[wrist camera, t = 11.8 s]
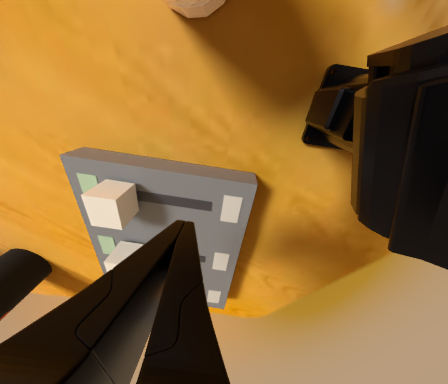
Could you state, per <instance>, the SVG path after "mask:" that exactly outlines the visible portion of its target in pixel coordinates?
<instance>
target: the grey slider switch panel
mask: <svg viewBox="0 0 448 384" xmlns="http://www.w3.org/2000/svg"><path fill="white" fill-rule="evenodd" d="M60 157H61V160H62V163H63V166H64V168H65V171H66V174H67V176H68V179H69V182H70V184H71V187H72V190H73V193H74V195H75V198H76V201H77V203H78V206H79V209H80V211H81V214H82V217H83V219H84V222H85V225H86V228H87V230H88V233H89V236H90V238H91V241H92V244H93V246H94V249H95V252H96V255H97V257H98V260H99V263H100V265H101V268H102V271H103V273H104V274H105V273H107V271H106V268H105V265H104V261H105V260H106V258H107V257H108V256H109V255H110V253H111V252H112V251H113V250H114V248H115V247H116V246H117V245H118V243H119V242H120V241H125V242H132V243H139V244H145V243H147V242H148V241H149V240H151V239H152V238H153V237H155V236H156V235H157V234H159V233H160V232H161V231H163V230H164V229H165V228H167V227H168V226H169V225H170V224H172V223H173V222H174V221H176V220H184V221H185V222H186V221H191V222H194V224H195V230H196V237H197V243H198V250H199V256H200V262H201V269H202V275H203V283H204V288H205V294H206V299H207V304H208V307H214V308H221V309H224V307H225V303H226V300H227V296H228V292H229V289H230V285H231V281H232V278H233V274H234V270H235V267H236V263H237V259H238V256H239V252H240V248H241V245H242V241H243V237H244V234H245V230H246V226H247V223H248V219H249V215H250V212H251V208H252V204H253V201H254V197H255V193H256V190H257V186H258V184H257V180H256V176H255V173H250V172H244V171H237V170H231V169H224V168H218V167H211V166H204V165H198V164H191V163H185V162H178V161H172V160H165V159H159V158H152V157H146V156H139V155H133V154H126V153H120V152H113V151H106V150H100V149H93V148H87V147H82V148H79V149H76V150H73V151H70V152H67V153H64V154H61V155H60ZM105 179H109V180H115V181H122V182H129V183H135V187H136V194H137V200H138V207H139V211H138V212H137V214H136V215H135V216H134V217H133V218H132V219H131V221H130V222H129V223H128V224H127V225H126V226H125V228H124V229H123V230H118V229H111V228H105V227H98V226H91V223H90V220H89V217H88V214H87V212H86V209H85V206H84V203H83V200H82V197H81V194H83V193H85V192H86V191H88V190H89V189H91V188H93V187H94V186H96V185H97V184H99V183H101V182H102V181H104V180H105Z"/></svg>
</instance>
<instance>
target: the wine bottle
mask: <svg viewBox="0 0 448 384" xmlns="http://www.w3.org/2000/svg"><path fill="white" fill-rule="evenodd" d="M51 271H52V269H51V266H50V265H49V263H48V262H47V261H46V260H44V259H43V258H42V257H40V256H39V255H37V254H35V253H32V252H30V251H27V250H23V249H11V250H9V251H8V252H6V253H5V254H3V255H2V256H0V320H1V319H3V318H4V317H5V316H6V315H7V314H8V313H9V312H10V311H11V310H12V309H13V308H14V307H15V306H16V305H17V304H18V303H19V302H20V301H21V300H22V299H24V298H25V297H26V296H27V295H28V294H29V293H30V292H31V291H32V290H33V289H34V288H35V287H36V286H37V285H38V284H39V283H40V282H42V281H43V280H44V279H45V278H46V277H47V276H48V275H49V274H50V273H51Z"/></svg>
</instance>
